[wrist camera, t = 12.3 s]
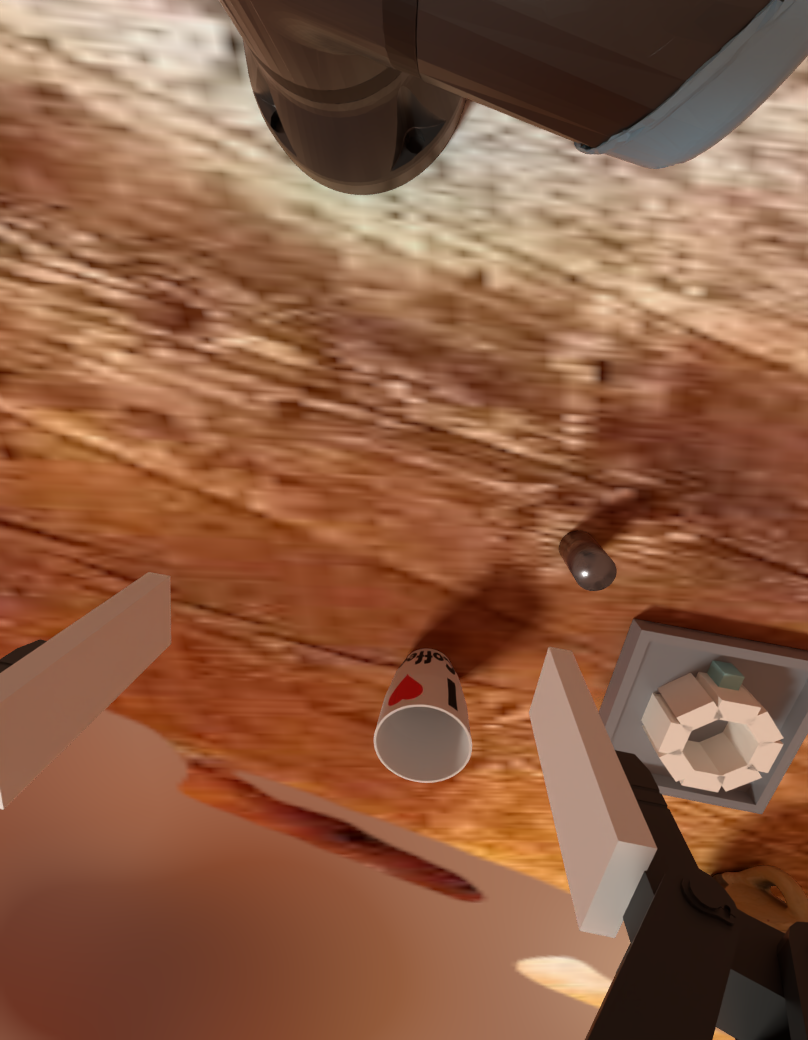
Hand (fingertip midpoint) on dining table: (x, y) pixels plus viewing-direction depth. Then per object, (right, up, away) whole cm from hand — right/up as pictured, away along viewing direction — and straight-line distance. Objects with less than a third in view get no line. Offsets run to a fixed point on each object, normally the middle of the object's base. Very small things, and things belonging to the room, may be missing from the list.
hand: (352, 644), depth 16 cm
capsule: (+17, +2, +26) cm, 31 cm away
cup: (+4, -11, +32) cm, 34 cm away
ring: (+31, -15, +30) cm, 45 cm away
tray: (+31, -15, +30) cm, 46 cm away
